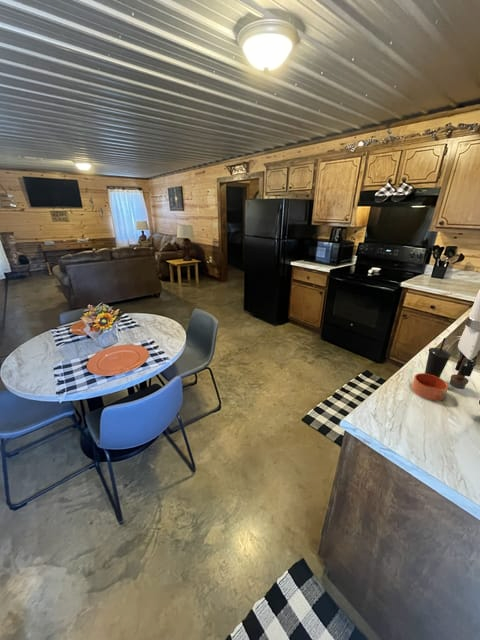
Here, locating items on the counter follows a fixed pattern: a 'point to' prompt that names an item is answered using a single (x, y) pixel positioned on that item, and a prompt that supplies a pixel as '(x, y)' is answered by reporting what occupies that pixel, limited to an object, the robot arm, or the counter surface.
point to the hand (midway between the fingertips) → (462, 372)
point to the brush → (459, 379)
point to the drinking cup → (437, 360)
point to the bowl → (429, 386)
